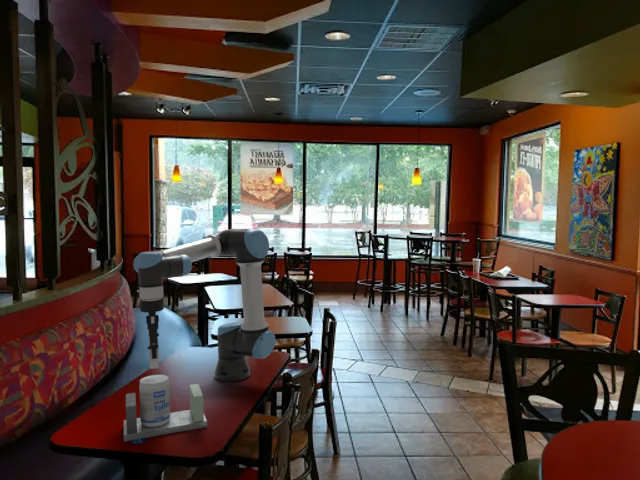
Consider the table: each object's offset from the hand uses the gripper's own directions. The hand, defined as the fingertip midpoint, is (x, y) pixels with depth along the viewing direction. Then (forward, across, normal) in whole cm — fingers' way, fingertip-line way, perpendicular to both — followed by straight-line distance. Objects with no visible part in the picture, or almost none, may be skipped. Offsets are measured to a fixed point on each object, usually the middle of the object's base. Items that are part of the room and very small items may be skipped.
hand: (154, 362), depth 164 cm
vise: (+23, 0, +3) cm, 23 cm away
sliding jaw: (+20, 0, +13) cm, 24 cm away
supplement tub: (+21, 0, 0) cm, 21 cm away
